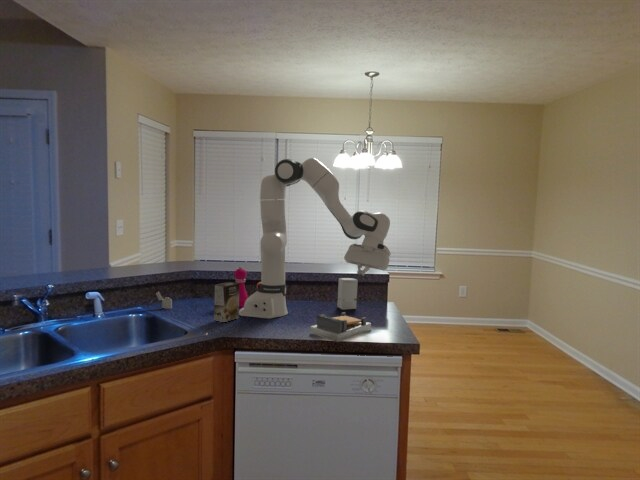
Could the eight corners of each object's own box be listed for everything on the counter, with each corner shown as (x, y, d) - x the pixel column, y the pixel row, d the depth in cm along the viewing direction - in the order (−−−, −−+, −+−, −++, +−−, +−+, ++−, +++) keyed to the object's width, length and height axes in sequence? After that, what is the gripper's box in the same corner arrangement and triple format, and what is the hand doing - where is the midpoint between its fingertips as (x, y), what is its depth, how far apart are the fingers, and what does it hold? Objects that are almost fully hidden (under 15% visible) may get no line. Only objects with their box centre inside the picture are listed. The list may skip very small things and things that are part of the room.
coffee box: (224, 323, 186) (225, 286, 184) (213, 321, 189) (214, 284, 187) (239, 319, 194) (239, 283, 192) (228, 316, 197) (228, 281, 195)
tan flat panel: (345, 317, 188) (345, 315, 188) (362, 322, 182) (363, 319, 182) (323, 321, 177) (323, 318, 177) (340, 325, 171) (341, 323, 171)
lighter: (172, 307, 209) (171, 291, 208) (171, 308, 207) (171, 292, 206) (156, 307, 208) (156, 291, 207) (155, 308, 206) (155, 292, 206)
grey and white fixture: (344, 323, 192) (345, 307, 191) (370, 330, 183) (371, 313, 182) (310, 333, 176) (310, 316, 175) (337, 342, 166) (338, 323, 166)
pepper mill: (235, 308, 212) (235, 267, 210) (230, 304, 219) (231, 265, 217) (249, 306, 216) (250, 266, 214) (244, 303, 222) (245, 264, 220)
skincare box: (341, 310, 215) (342, 280, 213) (336, 307, 220) (337, 277, 219) (357, 308, 218) (358, 279, 216) (351, 306, 223) (352, 277, 222)
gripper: (348, 239, 198) (337, 266, 193) (390, 247, 187) (379, 276, 182) (353, 246, 203) (342, 272, 198) (394, 254, 192) (383, 282, 187)
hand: (360, 274), depth 190 cm, fingers closed
